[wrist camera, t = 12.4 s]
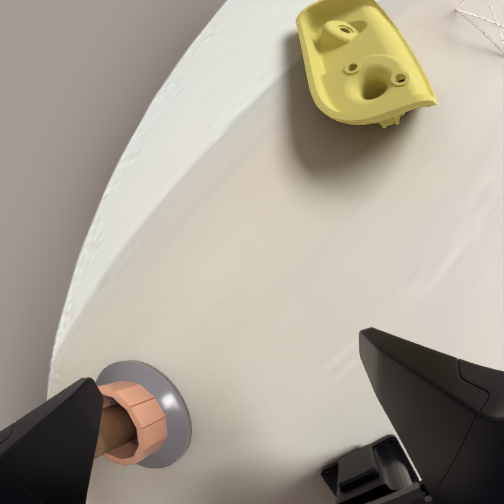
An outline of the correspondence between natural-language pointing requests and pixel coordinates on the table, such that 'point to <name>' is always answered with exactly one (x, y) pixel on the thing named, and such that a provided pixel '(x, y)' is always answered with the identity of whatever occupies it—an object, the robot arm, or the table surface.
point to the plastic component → (360, 63)
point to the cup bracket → (147, 414)
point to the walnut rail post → (114, 429)
